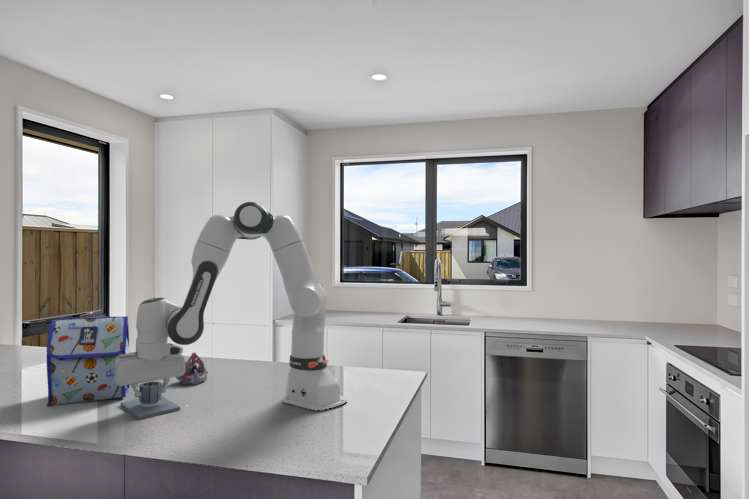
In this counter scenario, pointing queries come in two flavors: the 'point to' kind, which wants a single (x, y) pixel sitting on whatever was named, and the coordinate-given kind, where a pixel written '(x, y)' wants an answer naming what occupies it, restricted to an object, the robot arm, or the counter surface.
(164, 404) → the post block
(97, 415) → the counter surface
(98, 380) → the lunch bag
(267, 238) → the robot arm
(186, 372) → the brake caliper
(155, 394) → the hub ring
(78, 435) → the counter surface
